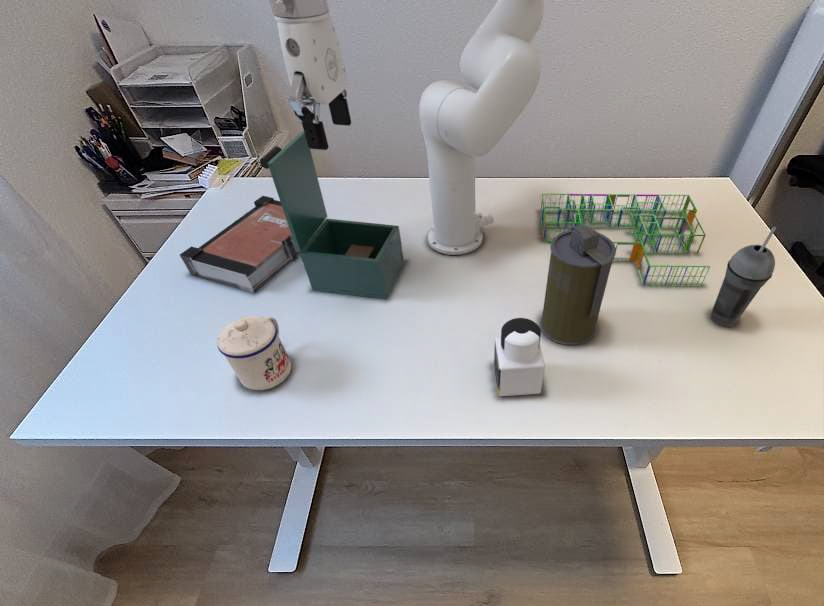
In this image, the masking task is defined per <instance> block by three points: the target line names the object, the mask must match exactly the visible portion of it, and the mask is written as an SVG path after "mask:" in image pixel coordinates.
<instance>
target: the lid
mask: <svg viewBox="0 0 824 606" xmlns="http://www.w3.org/2000/svg"><path fill="white" fill-rule="evenodd" d="M259 164H260V166H261V167H262V168H263V169H265V170H268V169H269V172H270V175H271V178H272V182H273V184H274V187H275V190H276V192H277V195H278V199H279V201H280V202H281V205H282V208H283V211H284V214H285V217H286V220H287V223H288V226H289V229H290V232H291V235H292V238H293V241H294V244H295V247H296V250H297V251H301V250H302V249H303V248H304V246H305V245H306V244H307V242H308V241H309V240H310V239H311V237H312V236H313V235H314V233H315V232H316V231H317V229H318V228H319V227H320V226H321V224H322V223H323V222H324V221H325V220H326V219H328V213H327V209H326V205H325V202H324V198H323V193H322V190H321V186H320V181H319V178H318V175H317V170H316V167H315V163H314V159H313V154H312V151H311V149H310V148H309V147H308V143H307V140H306V136H305V133H304V131H300V132H299V133H298V134H297V135H296V136H295V137H294V138H293V139H292V140H290V142H289V143H287V144H286V145H285V146H284V147H283V148H281V147H280V146H278V145H276V146H273V147H272V148H271V149H270V150H269V151H268V152H266V154H264V155H263V156H262V157H261V158H260V159H259Z"/></svg>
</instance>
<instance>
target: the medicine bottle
mask: <svg viewBox="0 0 824 606" xmlns="http://www.w3.org/2000/svg"><path fill="white" fill-rule="evenodd" d="M500 330H501V331H500V336H497V337H495V338H494V355H493V357H494V358H493V363H494V364H493V367H494V374H495V381H496V389H497V395H498V396H499V397H511V396H526V395H527V396H528V395H538V394H539V395H540V394H541V393H542V386H543V381H544V374H545V369H546V364H545V360H544V355H543V351H542V347H541V337H542V330H541V327H540V325H538V324H537V323H536V322H535V321H534V320H532V319H529V318H526V317H515V318H512V319H509V320H507V321H506V322H505V323H504V324H502V327H501V329H500Z"/></svg>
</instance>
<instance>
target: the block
mask: <svg viewBox="0 0 824 606" xmlns="http://www.w3.org/2000/svg"><path fill="white" fill-rule="evenodd" d="M345 256H353V257H362V258H371V259H376V252H375V247H370V246H361V245H351V246H350V248H349V249H348V251H347V252H346V254H345Z"/></svg>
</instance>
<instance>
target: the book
mask: <svg viewBox="0 0 824 606" xmlns="http://www.w3.org/2000/svg"><path fill="white" fill-rule="evenodd" d="M253 204H254V207H253V208H251V209H250V210H248V211H247V212H246V213H244V214H243V215H242V216H241V217H238V219H236V220H235V221H234V222H232V223H231V224H229V225H228V226H227V227H225V228H224V229H223V230H221V231H219V232H218V233H216V235H214V236H212V238H210V239H208V240H207V241H206V242H204V243H203V244H201V245H200V246H199V247H195V246H189V247H188V248H187V249H185V250H184V251H183V252H181V253H180V254H179V256H180V258H181V260H182V262H183V264H184V265H185V267H186V268H187V270H188V272H189V274H190V275H191V276H194V277H197V278H201V279H203V280H207V281H210V282H215V283H218V284H221V285H225V286H229V287H232V288H235V289H238V290H242V291H246V292H250V293H253V294H255V293H256V292H258V291H259V290H260V289H261V288H262V287H263V286H265V285H266V284H267V283H268V282H269V281H270V280H271V279H272V278H273V277H275V276H276V275H277V274H278V273H279V272H280V271H281V270H282V269H283V268H285V267H286V266H287V265H288V264H289V263H290V262H291V261H295V260H296V259H297V257H298V255H300V252H301V251H302V250H303V249H302V250H301V251H297V250H296V247H295V244H294V241H293V238H292V235H291V232H290V229H289V226H288V223H287V220H286V217H285V214H284V211H283V208H282V205H281V202H280V200H277V199H275V198H274V197H270V196H267V195H262V196H260V197H259V198H257V199H256V200H255V201H253ZM322 224H323V223H322ZM322 224H321V225H322ZM319 228H320V227H319ZM319 228H318V229H319ZM318 229H317V230H318ZM315 233H316V232H315ZM315 233H314V234H315ZM312 237H313V236H312ZM312 237H311V238H312ZM308 242H309V241H308ZM308 242H307V243H308ZM305 246H306V245H305ZM305 246H304V247H305Z"/></svg>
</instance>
